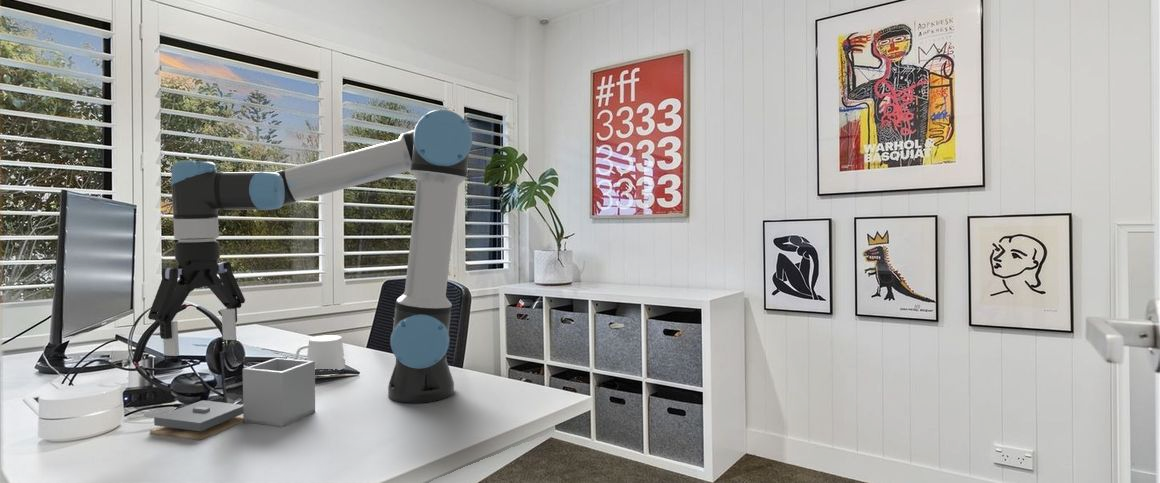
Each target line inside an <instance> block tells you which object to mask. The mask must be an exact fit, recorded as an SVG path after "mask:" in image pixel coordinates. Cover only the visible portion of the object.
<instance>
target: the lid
mask: <svg viewBox="0 0 1160 483" xmlns="http://www.w3.org/2000/svg"><path fill="white" fill-rule="evenodd" d="M239 415H243V404H237V403H232V402H231V403H229V402H221V401H212V400H204V399H203V400H199V401H197V402H194V403H191V404H190V403H189V404H188V405H185V406H182V407H180V408H177V409H174V410H171V411H169V412H166V413H165V412H164V413H163V414H159V415H156V416H154V420H153V421H154V422H153V423H154V426H157V427H160V426H163V427H171V428H178V429H186V430H194V431H202V430H205V429H207V428H210V427H212V426H215V425H217V424H220V423H222V422H224V421H227V420H229V419H232V418H234V417H237V416H239Z"/></svg>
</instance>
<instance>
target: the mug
mask: <svg viewBox="0 0 1160 483" xmlns="http://www.w3.org/2000/svg"><path fill="white" fill-rule="evenodd" d="M305 349H307V354H306V360H307V361H315V368H316V369H333V370H335V369H343V368H345V369H346V357H345V353H344V344H343V338H342V335H341V336H340V335H337V334H336V335H335V334H325V335H316V336H313V337H310V338H309V340H308V343H307V344H304V345H300V346H299V347H298V348H297V349H296V353H295V359H296V360H300V352H301V351H302V350H305Z"/></svg>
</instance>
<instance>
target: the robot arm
mask: <svg viewBox="0 0 1160 483" xmlns="http://www.w3.org/2000/svg"><path fill="white" fill-rule="evenodd" d="M413 128H414V129H413V130H410V131H407V132H404V133H401V134H400V136H399V137H398V139H395V140H391V141H387V142H383V143H379V144H376V145H375V144H374V145H372V146H368V147H364V148H361V149H357V150H354V151H349V152H346V153H342V154H338V155H334V156H330V157H326V158H322V159H319V160H314V161H311V162H308V163H303V164H300V165H296V166H293V167H289V168H285V169H282V170H280V169H279V170H277V171H274V172H268V171H237V172H236V171H234V172H233V171H229V172H228V171H227V172H225V171H218V170H217V166H216V163H215V162H212V161H201V160H199V161H196V160H194V161H193V160H180V161H177V162H174V163H173V164H172V166H171V181H170V188H171V199H172V201H171V202H172V212H173V215H172V216H173V217H172V218H173V221H172V222H173V238H174V239H175V240H177V242H175V243H174V258H175V261H176V262H177V263H178V264H177V265H178V267H163V268H162V270H161V271H162V272H161V281H160V283H159V287H158V288H157V292H156V294H155V296H154V299H153V301H152V305H151V307H150V310H149V312H148V314H147V318H148V320H151V321H152V320H154V321H156V322H158V323H159V336H160V339H161V340H162V342H163V355H164V356H170V357H171V356H173V357H177V356H179V355H180V347H179V327H178V326H179V325H178V320H174V319H175V317H176V315H177V314H178V312H179V310H180V309H181V307H182V306H183V304H184V302H185V301H186V299H187V297H188V296H189V294H190V293H192V292H194V290H195V289H201V288H203V287H204V288H209V290H210V292H212V293H213V294H214V296H215V297H216V298H217V299H218V300H219V301H220V302H221V303H222V305H223V306H224V308H221V328H222V340H224V341H225V340H226V341H235V340H237V329H236V328H237V327H236V326H237V325H236V323H237V322H238V309H240V308H242V304H245V303H246V298H245V296H244V294H243V292H242V290H241V288H240V286H239V284H238V282H237V280H236V277H235V275H234V273H233V270H232V262H230V261H218V260H219V259H220V257H221V254H220V253H221V251H220V242H219V241H218V240H217V239H218V238H219V237H220V230H219V229H220V228H219V226H220V225H219V214H218V212H219V211H220V210H221V211H226V210H230V211H231V210H234V211H235V210H237V211H238V210H239V211H241V210H242V211H243V210H245V211H248V210H249V211H250V210H253V211H256V210H260V211H271V210H272V211H273V210H277V209H279V210H280V208H282V207H283V206H286V205H290V204H294V203H297V202H300V201H304V200H308V199H312V198H315V197H319V196H322V195H326V194H329V193H330V194H331V193H333V192H337V191H340V190H345V189H349V188H353V187H357V186H360V185H363V184H367V183H370V182H375V181H377V180H381V179H384V178H389V177H391V176H397V175H399V174H403V173H407V172H408V173H411V174H412V176H413V177H414V178H415V180H416V188H415V195H414V207H413V215H412V221H411V222H412V224H411V233H410V239H409V241H410V242H409V249H408V257H407V258H408V259H407V266H406V267H407V269H406V278H405V286H404V287H405V288H404V292H403V293H402V294H401V295H400V296H399V297H398V298H397V299H396V302H395V308H394V317H393V318H394V319H393V327H392V332H391V334H390V339H389V344H390V347H391V348H390V349H391V351H392V353H393V356H394V358H395V364H394V368H393V369H392V373H391V377H390V379H389V383H388V386H387V390H388V391H387V392H388V393H387V395H388V398H389V399H390V400H393V401H395V402H399V403H409V404H410V403H411V404H417V403H418V404H419V403H421V404H422V403H430V402H436V401H440V400H443V399H447V398H449V397H450V396H452V395H453V394H454V392H455V383H454V379H453V375H452V372H451V369H450V367H449V364H448V361H447V351H448V350H449V347H450V340H451V339H450V333H449V332H450V326H451V325H450V324H451V314H452V305H453V304H452V302H451V301H450V300H449V299H448V298H447V296H446V295H447V288H448V277H449V268H450V260H451V252H452V244H453V236H454V235H453V234H454V225H455V216H456V209H457V198H458V191H459V190H458V189H459V186H460V184H462V183H463V182H464V181H466V180H467V177H468V176H467V174H468V166H469V158H470V152H471V149H472V146H473V133H472V131H471V128H470V125H469V124H468V122H467V121H466V120H465V119H464V118H463V117H462V115H459V114H458V113H456V112H454V111H452V110H449V109H435V110H431V111H429V112H428V113H426V114H424V115H422V116H421V117H420V118H419V120H418V121H417V122H416V124H415V126H414V127H413Z"/></svg>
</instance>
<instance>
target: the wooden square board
mask: <svg viewBox="0 0 1160 483" xmlns="http://www.w3.org/2000/svg"><path fill="white" fill-rule="evenodd" d="M241 423H245V422H244V419H243V414H242V415H239V416H237V417H234V418H232V419H229V420H227V421H224V422H222V423H220V424H217V425H215V426H212V427H210V428H207V429H205V430H202V431H194V430H186V429H178V428H171V427H163V426H157V427H154V428H153V429H150V430H149V433H150V434H153V435H161V436H169V437H176V438H184V439H192V440H199V441H201V440H203V439H205V438H208V437H210V436H213V435H216V434H218V433H220V432H222V431H224V430H227V429H229V428H232V427H234V426H236V425H239V424H241Z"/></svg>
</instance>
